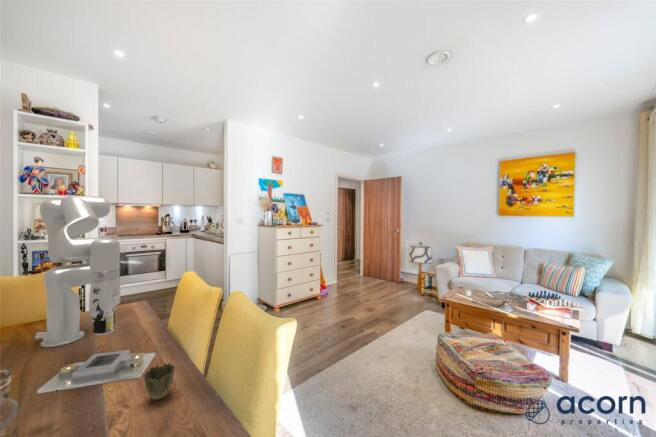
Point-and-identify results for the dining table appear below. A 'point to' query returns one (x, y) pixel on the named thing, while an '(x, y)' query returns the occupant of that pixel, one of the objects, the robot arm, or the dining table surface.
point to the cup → (159, 380)
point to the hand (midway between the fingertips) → (104, 328)
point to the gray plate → (99, 370)
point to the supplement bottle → (108, 322)
